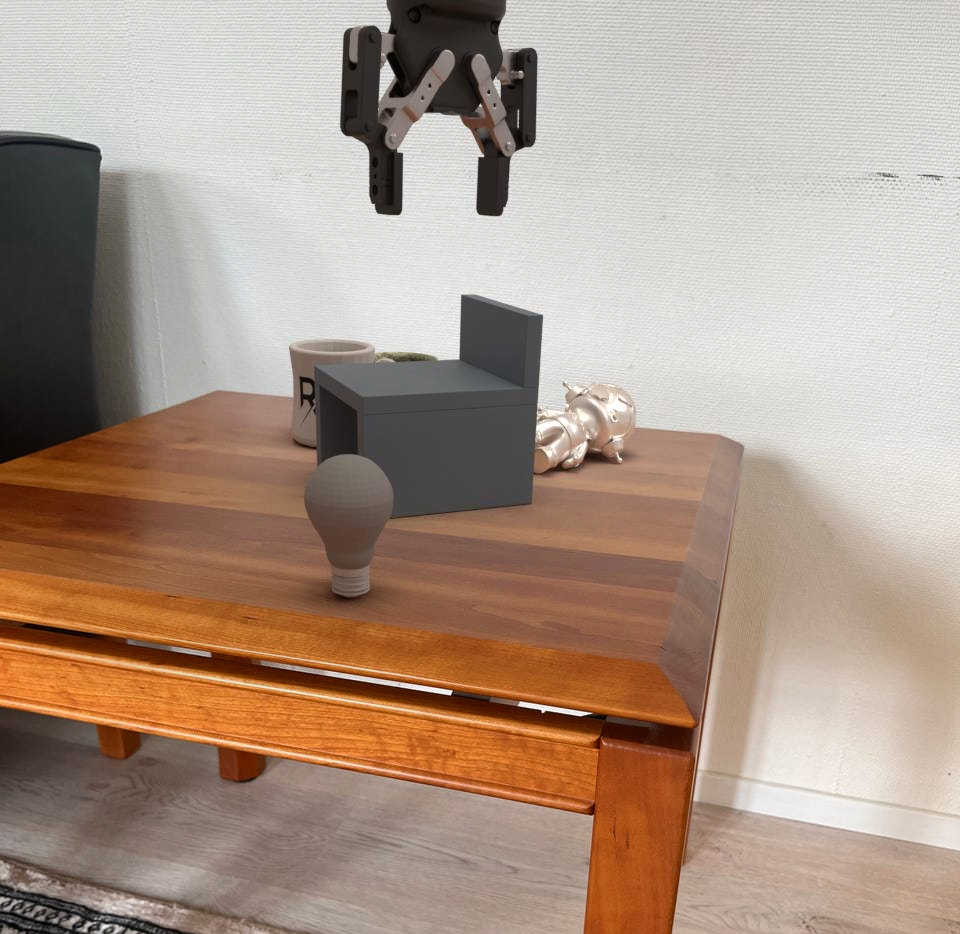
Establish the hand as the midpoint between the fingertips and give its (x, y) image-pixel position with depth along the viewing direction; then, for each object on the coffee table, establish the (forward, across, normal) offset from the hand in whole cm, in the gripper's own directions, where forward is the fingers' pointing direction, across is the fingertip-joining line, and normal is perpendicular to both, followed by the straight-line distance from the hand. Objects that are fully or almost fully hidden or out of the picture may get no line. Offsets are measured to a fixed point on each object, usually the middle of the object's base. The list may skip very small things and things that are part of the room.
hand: (440, 215), depth 69 cm
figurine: (+24, -29, -15) cm, 41 cm away
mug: (+25, -13, -33) cm, 44 cm away
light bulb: (+25, +9, +3) cm, 27 cm away
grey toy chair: (+24, -10, -15) cm, 30 cm away
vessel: (+25, -27, -43) cm, 57 cm away
